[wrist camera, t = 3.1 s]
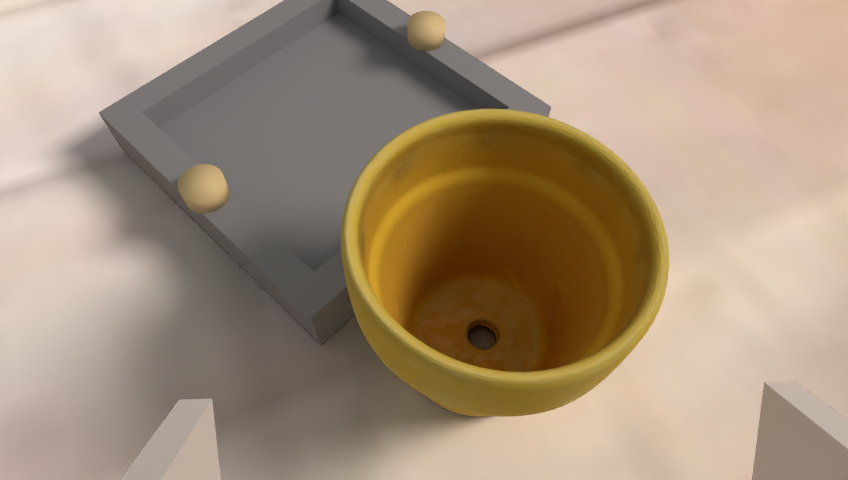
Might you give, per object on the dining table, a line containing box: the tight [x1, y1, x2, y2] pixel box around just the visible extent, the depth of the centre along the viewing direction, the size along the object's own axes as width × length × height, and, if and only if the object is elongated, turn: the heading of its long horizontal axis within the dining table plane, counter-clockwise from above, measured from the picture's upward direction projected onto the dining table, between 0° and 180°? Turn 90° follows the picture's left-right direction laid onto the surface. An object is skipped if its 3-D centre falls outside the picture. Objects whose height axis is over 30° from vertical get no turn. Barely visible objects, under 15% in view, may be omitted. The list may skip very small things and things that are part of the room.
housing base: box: [99, 0, 551, 345], centre depth 31 cm, size 16×16×4 cm
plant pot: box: [341, 109, 669, 417], centre depth 23 cm, size 10×10×10 cm
